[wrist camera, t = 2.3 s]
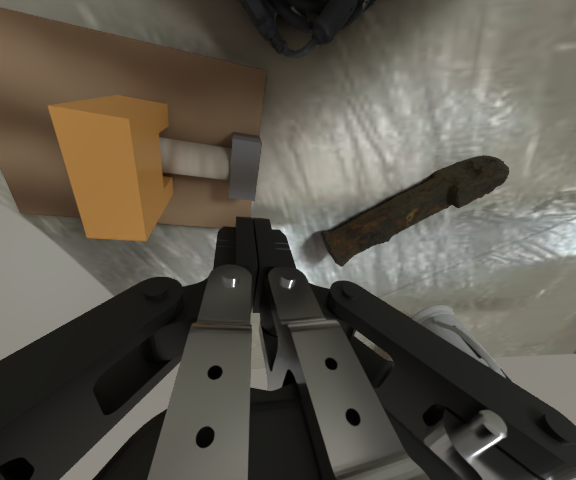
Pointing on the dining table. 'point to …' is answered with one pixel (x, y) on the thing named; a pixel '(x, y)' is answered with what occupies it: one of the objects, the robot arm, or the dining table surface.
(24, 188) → the wooden base plate
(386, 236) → the dark brown tapered rod
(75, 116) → the notched block
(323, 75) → the dining table surface
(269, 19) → the cable
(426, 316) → the glass holder
